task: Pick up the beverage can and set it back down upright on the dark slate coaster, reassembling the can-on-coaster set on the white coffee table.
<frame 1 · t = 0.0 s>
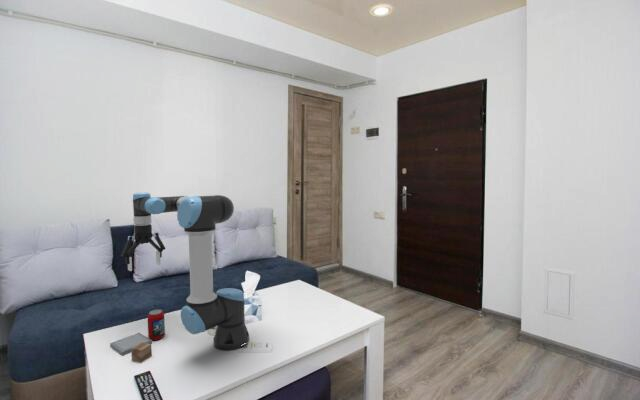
hand: (144, 267, 163), 28 cm above the table, fingers open, 13 cm apart
walnut block: (141, 358, 133), on the table
coaster: (131, 345, 143), on the table
beverage can: (156, 338, 150), on the table
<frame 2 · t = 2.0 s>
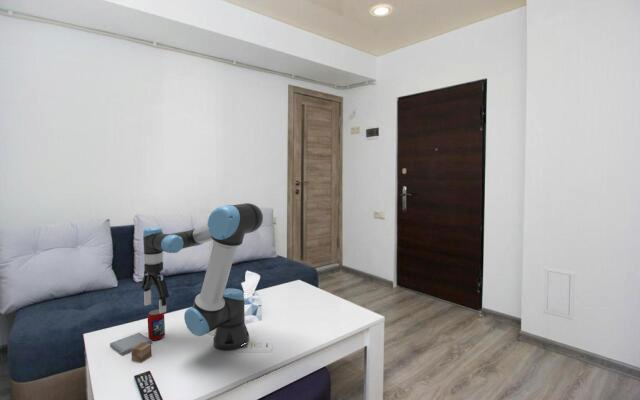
hand: (155, 308, 149), 13 cm above the table, fingers open, 13 cm apart
nothing on the table moved.
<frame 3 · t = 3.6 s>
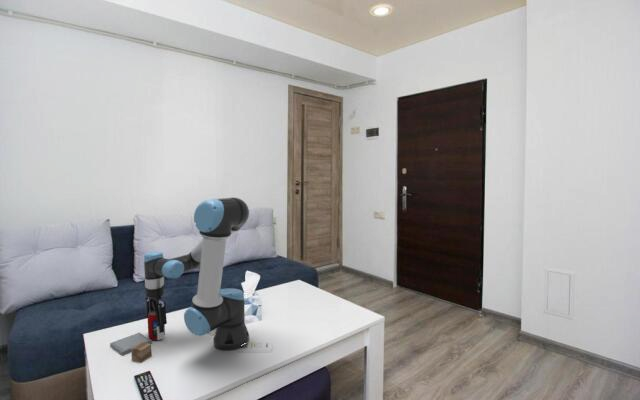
hand: (156, 336, 150), 1 cm above the table, fingers closed on beverage can, 7 cm apart
beverage can: (156, 337, 150), on the table, touching gripper
everything else where it was.
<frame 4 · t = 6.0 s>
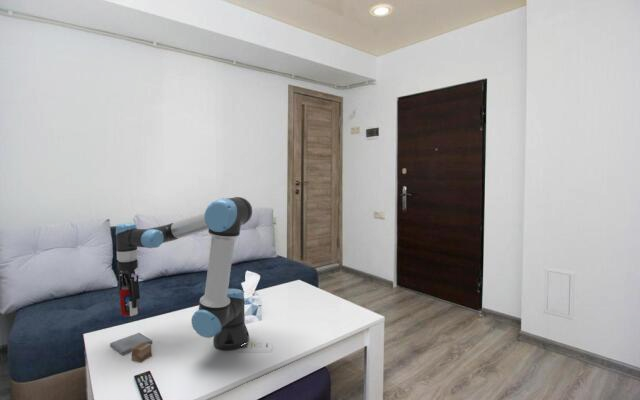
hand: (129, 312, 142), 14 cm above the table, fingers closed on beverage can, 7 cm apart
beverage can: (130, 314, 142), point 14 cm above the table, touching gripper
everything else where it was.
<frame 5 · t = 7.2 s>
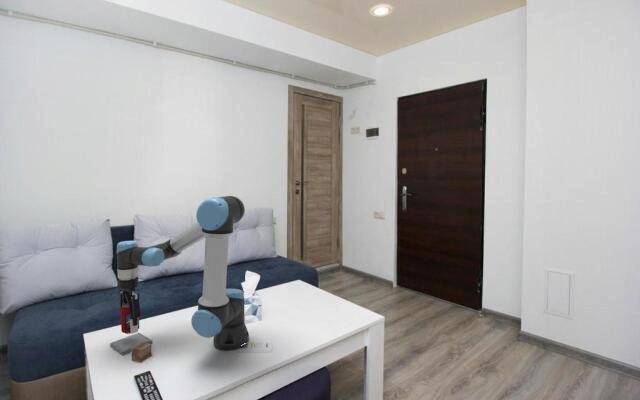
hand: (130, 329, 143), 7 cm above the table, fingers closed on beverage can, 7 cm apart
beverage can: (130, 331, 143), point 6 cm above the table, touching gripper
everything else where it was.
when the fingers open (3 cm above the table, at t = 8.2 s): beverage can drops 1 cm, resting on coaster.
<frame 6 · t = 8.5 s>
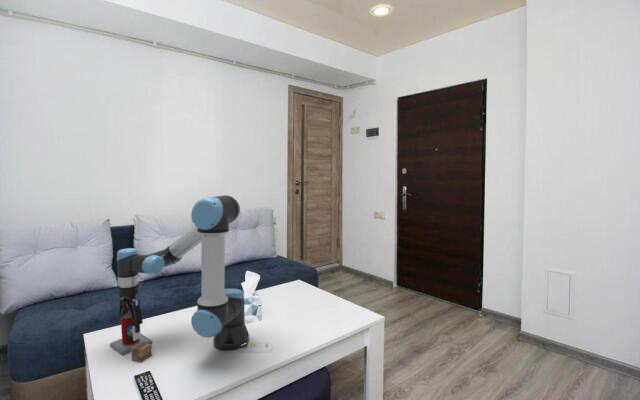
hand: (131, 335, 143), 4 cm above the table, fingers open, 10 cm apart
beverage can: (131, 342, 143), point 1 cm above the table, touching coaster
everything else where it was.
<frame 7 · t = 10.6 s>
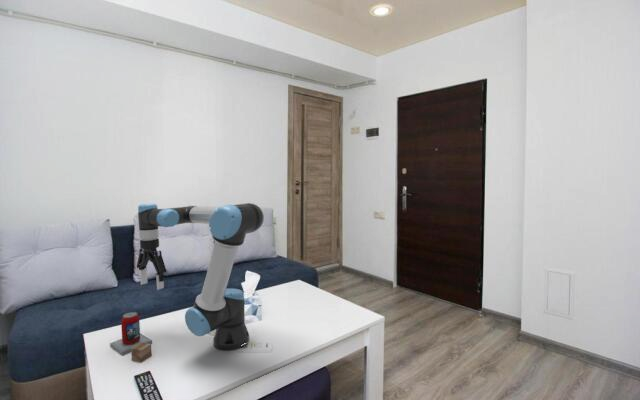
hand: (152, 286, 148), 24 cm above the table, fingers open, 13 cm apart
nothing on the table moved.
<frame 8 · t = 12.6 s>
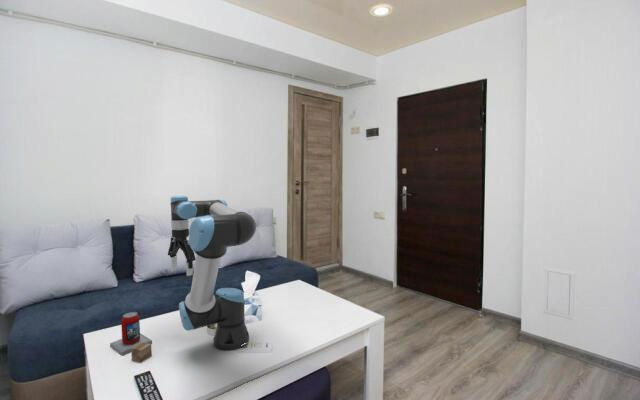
hand: (181, 272, 158), 27 cm above the table, fingers open, 13 cm apart
nothing on the table moved.
at the end: beverage can inside the target area on the coaster (0.0 cm from its centre), point 1.4 cm above the coaster's base; beverage can tilted 0°; the gripper is holding nothing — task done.
